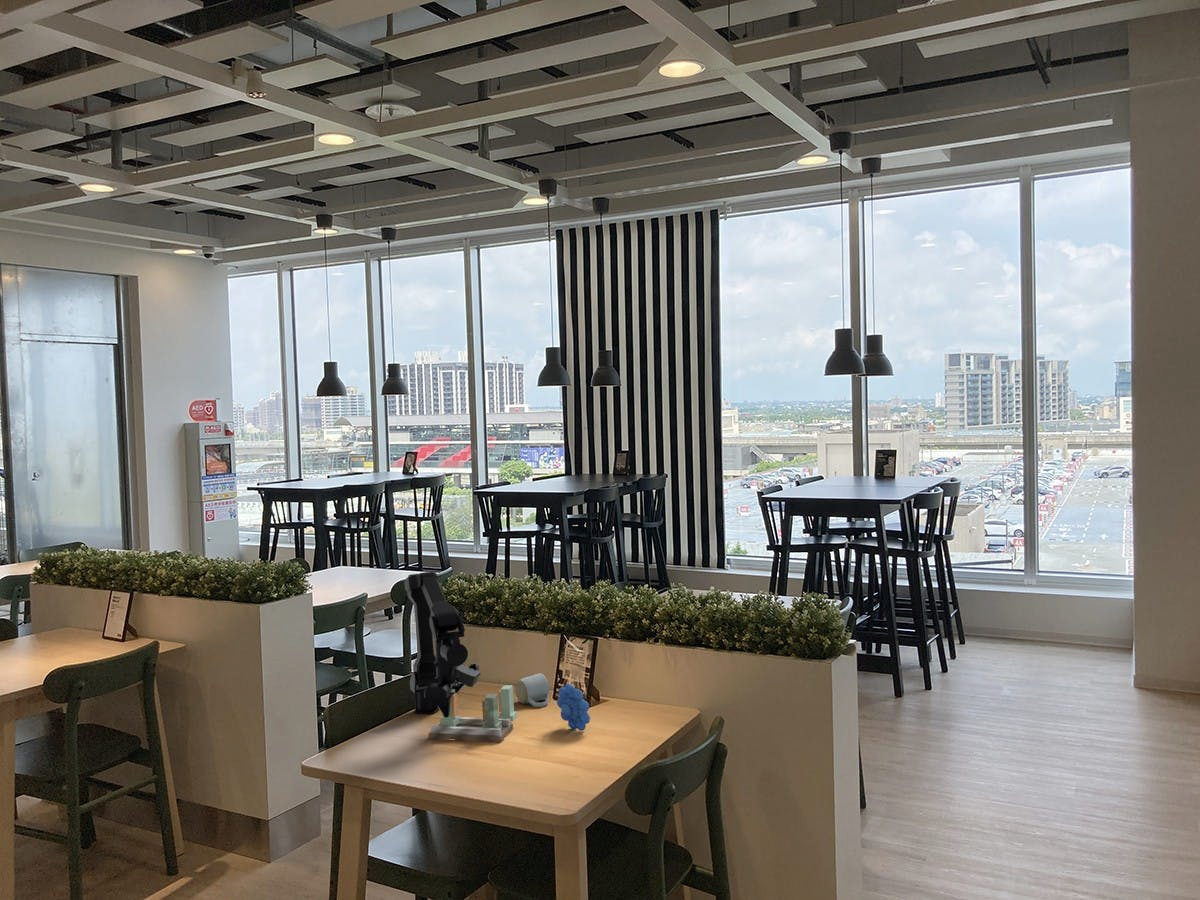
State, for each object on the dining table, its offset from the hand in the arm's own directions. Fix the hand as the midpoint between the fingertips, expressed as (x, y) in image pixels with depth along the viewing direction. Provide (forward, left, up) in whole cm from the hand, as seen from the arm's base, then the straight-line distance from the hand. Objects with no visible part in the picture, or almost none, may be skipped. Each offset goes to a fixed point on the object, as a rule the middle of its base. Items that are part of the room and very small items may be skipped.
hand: (449, 714), depth 258 cm
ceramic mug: (+15, +28, -5) cm, 33 cm away
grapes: (+32, +6, -5) cm, 33 cm away
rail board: (+6, 0, -5) cm, 8 cm away
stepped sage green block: (0, 0, -2) cm, 3 cm away
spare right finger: (+12, +13, -5) cm, 18 cm away
